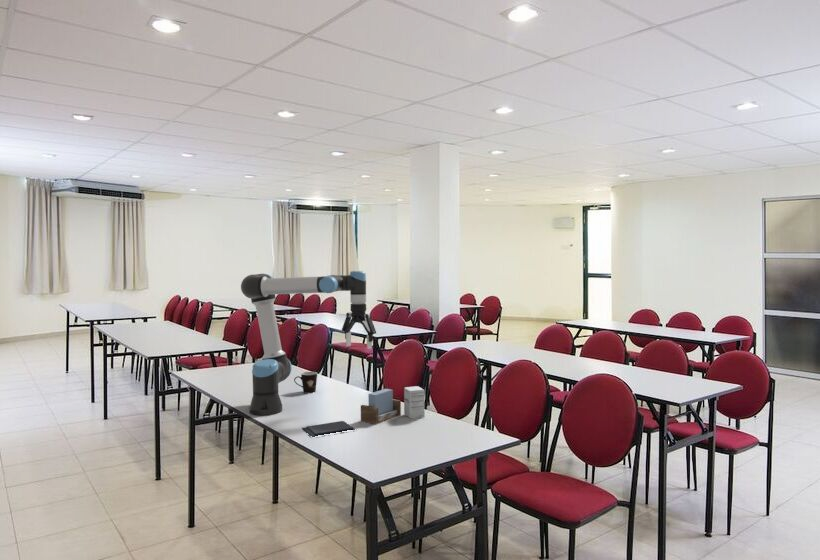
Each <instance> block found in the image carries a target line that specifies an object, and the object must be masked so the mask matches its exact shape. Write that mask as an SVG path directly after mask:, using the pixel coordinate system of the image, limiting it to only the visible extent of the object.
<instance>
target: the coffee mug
mask: <svg viewBox="0 0 820 560" xmlns="http://www.w3.org/2000/svg"><path fill="white" fill-rule="evenodd" d="M300 375H301V376H300ZM300 375H299V376H298V375H297V376H296V377H294V379H293V381H294V383H295V384H296V385H297V386H298V387H301V388H302V391H303V393H304V394H313V392H314V393H316V392H315V391H317V390H316V389H317V381H318V372H316V371H305V372H304V371H303V372H301V373H300ZM297 378H299V379H300V380H301V383H302V384H299V383H297V382H296V379H297Z"/></svg>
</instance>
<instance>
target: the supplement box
mask: <svg viewBox="0 0 820 560" xmlns="http://www.w3.org/2000/svg"><path fill="white" fill-rule="evenodd" d="M403 392H404V393H403V397H404V398H403V399H404V400H403V401H404V402H403V404H404V405H403V406H404V407H403V408H404V409H403V410H404V411H403V412H404V414H403V415H404V416H406V417H408V419H409V420H410V419H420V418H424V417H425V389H423V388H422V387H420V386H419V385H418V386H417V385H414V386H406V387H404V388H403Z"/></svg>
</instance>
